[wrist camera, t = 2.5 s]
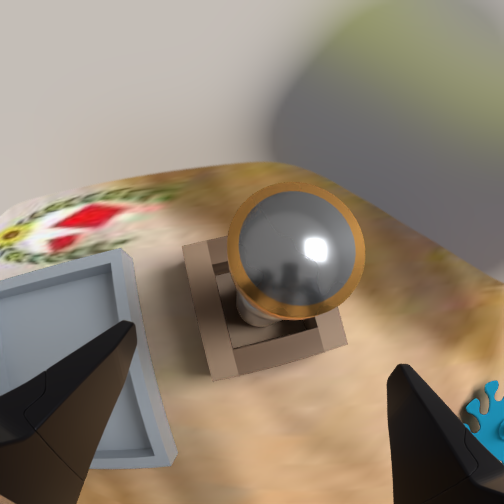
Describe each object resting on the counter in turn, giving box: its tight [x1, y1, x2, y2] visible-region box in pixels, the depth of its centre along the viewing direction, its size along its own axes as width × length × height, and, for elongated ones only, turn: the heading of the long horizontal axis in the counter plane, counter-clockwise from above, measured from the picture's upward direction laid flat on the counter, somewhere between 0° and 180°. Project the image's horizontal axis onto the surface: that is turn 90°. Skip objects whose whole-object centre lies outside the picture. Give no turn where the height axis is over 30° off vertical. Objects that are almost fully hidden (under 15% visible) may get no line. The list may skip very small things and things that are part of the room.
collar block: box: [182, 236, 348, 381], centre depth 18 cm, size 8×8×3 cm
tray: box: [0, 248, 178, 469], centre depth 16 cm, size 14×14×2 cm
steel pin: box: [227, 182, 365, 327], centre depth 14 cm, size 4×4×12 cm
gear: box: [464, 381, 504, 465], centre depth 15 cm, size 11×6×10 cm
